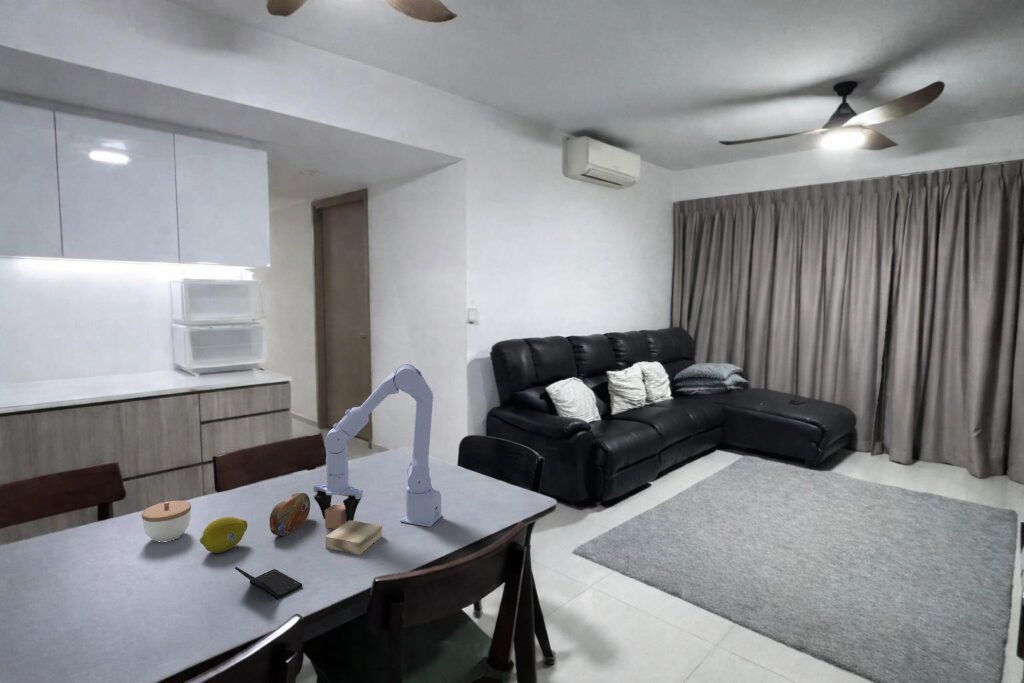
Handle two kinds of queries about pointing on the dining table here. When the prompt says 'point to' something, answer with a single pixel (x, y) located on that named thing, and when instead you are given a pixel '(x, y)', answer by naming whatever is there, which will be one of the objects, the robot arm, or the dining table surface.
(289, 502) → the tin
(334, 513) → the terracotta cube
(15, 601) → the dining table surface
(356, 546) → the birch block
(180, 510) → the lidded jar
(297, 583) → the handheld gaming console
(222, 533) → the lemon
